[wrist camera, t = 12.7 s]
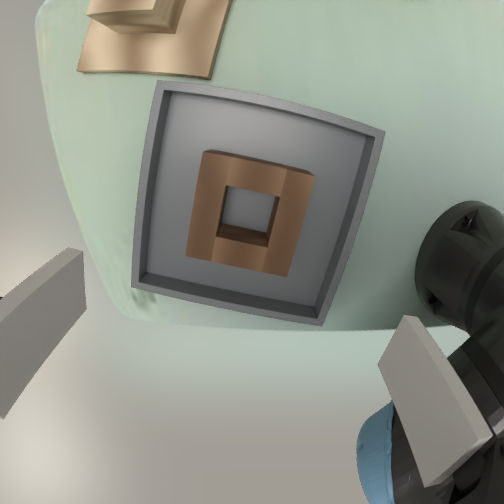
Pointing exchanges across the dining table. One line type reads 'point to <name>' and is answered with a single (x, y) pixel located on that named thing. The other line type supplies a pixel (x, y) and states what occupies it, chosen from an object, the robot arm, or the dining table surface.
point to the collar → (238, 238)
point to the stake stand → (154, 37)
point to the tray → (249, 197)
